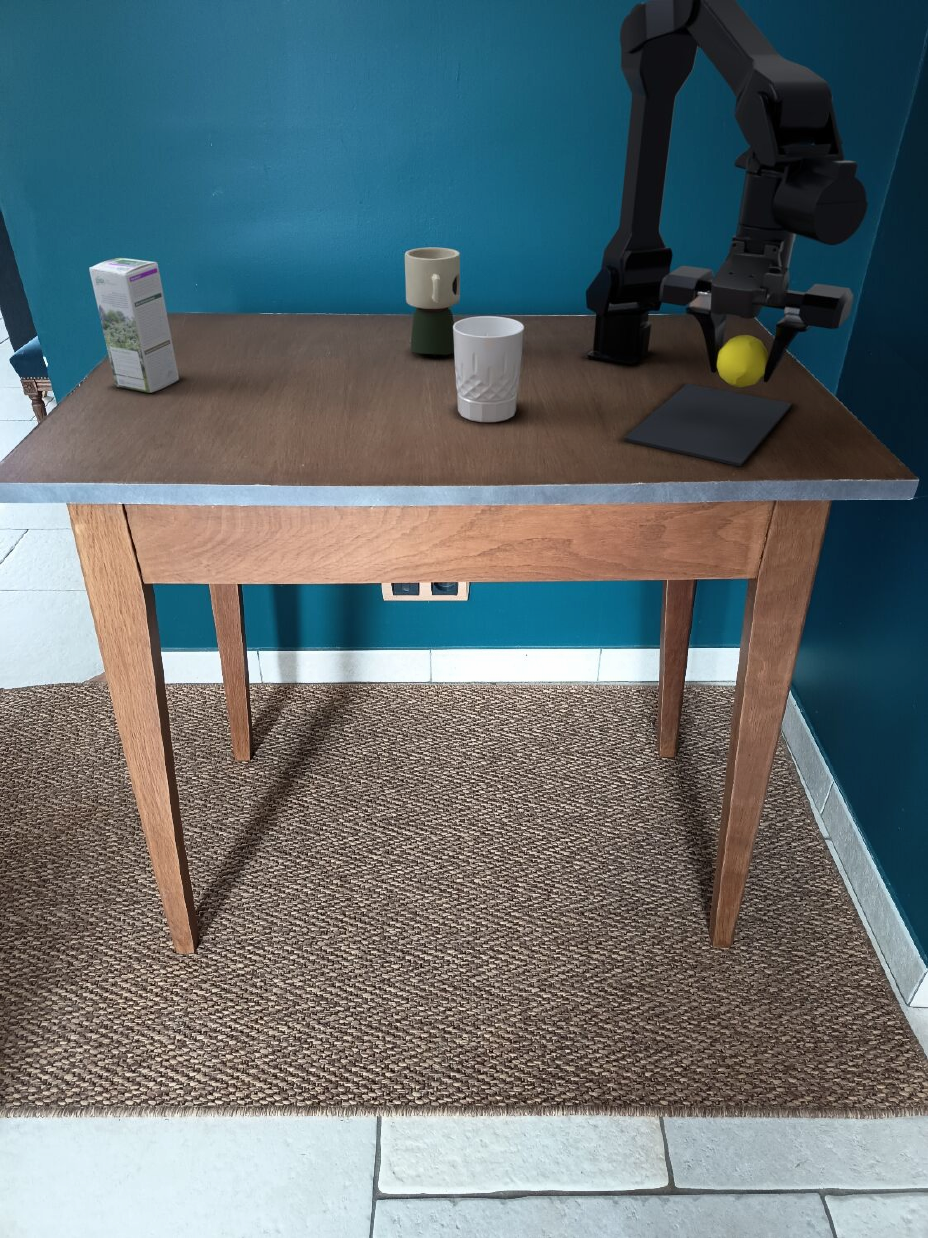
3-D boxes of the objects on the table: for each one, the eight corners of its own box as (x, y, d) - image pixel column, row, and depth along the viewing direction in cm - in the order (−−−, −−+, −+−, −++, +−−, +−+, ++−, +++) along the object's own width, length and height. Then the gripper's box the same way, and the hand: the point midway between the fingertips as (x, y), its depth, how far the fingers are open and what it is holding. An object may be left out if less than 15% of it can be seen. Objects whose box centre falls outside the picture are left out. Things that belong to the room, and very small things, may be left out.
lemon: (767, 397, 98) (776, 347, 95) (715, 394, 98) (723, 344, 95) (760, 375, 103) (769, 327, 100) (711, 372, 104) (718, 324, 101)
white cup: (473, 429, 103) (473, 340, 98) (441, 406, 109) (440, 321, 103) (533, 417, 106) (537, 330, 101) (499, 395, 112) (502, 312, 106)
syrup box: (181, 379, 116) (160, 259, 108) (149, 395, 112) (125, 271, 104) (145, 373, 118) (122, 255, 110) (113, 388, 114) (86, 265, 106)
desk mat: (623, 440, 101) (624, 437, 100) (686, 386, 115) (687, 383, 115) (740, 466, 95) (741, 463, 95) (791, 406, 109) (792, 403, 109)
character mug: (465, 364, 121) (465, 261, 114) (411, 367, 121) (408, 263, 113) (454, 339, 130) (454, 242, 123) (404, 341, 130) (401, 244, 122)
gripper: (648, 227, 90) (631, 382, 99) (845, 251, 82) (807, 417, 91) (687, 208, 98) (668, 353, 106) (870, 228, 90) (834, 383, 99)
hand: (739, 376), depth 100 cm, fingers closed on lemon, 5 cm apart
